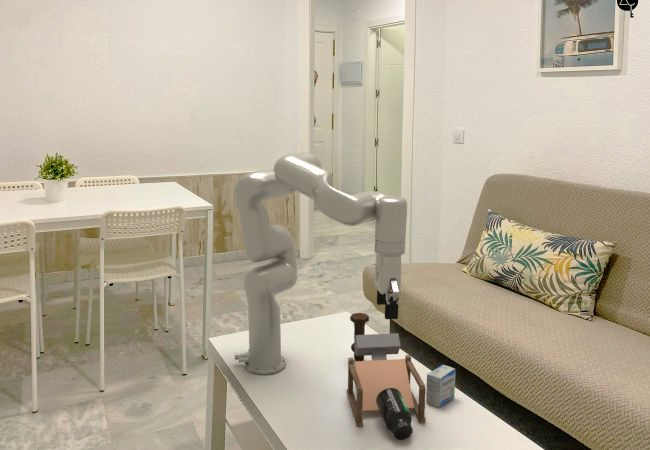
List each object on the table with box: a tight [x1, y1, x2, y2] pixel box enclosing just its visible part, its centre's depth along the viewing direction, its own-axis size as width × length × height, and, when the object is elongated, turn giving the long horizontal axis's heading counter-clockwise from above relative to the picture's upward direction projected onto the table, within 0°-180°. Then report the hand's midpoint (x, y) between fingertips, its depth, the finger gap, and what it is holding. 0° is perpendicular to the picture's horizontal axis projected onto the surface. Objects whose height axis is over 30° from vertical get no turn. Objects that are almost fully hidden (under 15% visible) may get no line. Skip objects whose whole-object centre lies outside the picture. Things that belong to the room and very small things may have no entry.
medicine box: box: [425, 364, 457, 409], centre depth 162 cm, size 8×4×9 cm, turn 138°
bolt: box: [349, 312, 370, 362], centre depth 184 cm, size 6×5×15 cm
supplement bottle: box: [376, 388, 414, 441], centre depth 148 cm, size 7×7×12 cm
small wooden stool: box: [346, 354, 427, 428], centre depth 158 cm, size 18×17×11 cm
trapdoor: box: [353, 332, 414, 413], centre depth 162 cm, size 14×21×5 cm
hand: (386, 311), depth 151 cm, fingers open, 9 cm apart
